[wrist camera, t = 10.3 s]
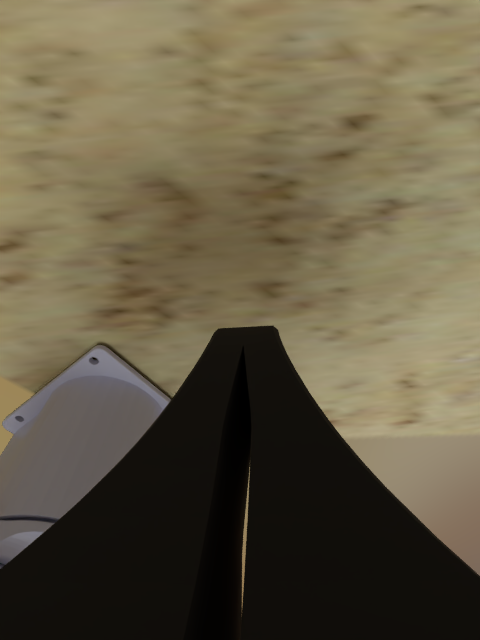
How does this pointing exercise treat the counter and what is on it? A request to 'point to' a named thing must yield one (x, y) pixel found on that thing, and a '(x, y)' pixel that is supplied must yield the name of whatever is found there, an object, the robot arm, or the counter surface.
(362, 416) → the counter surface
